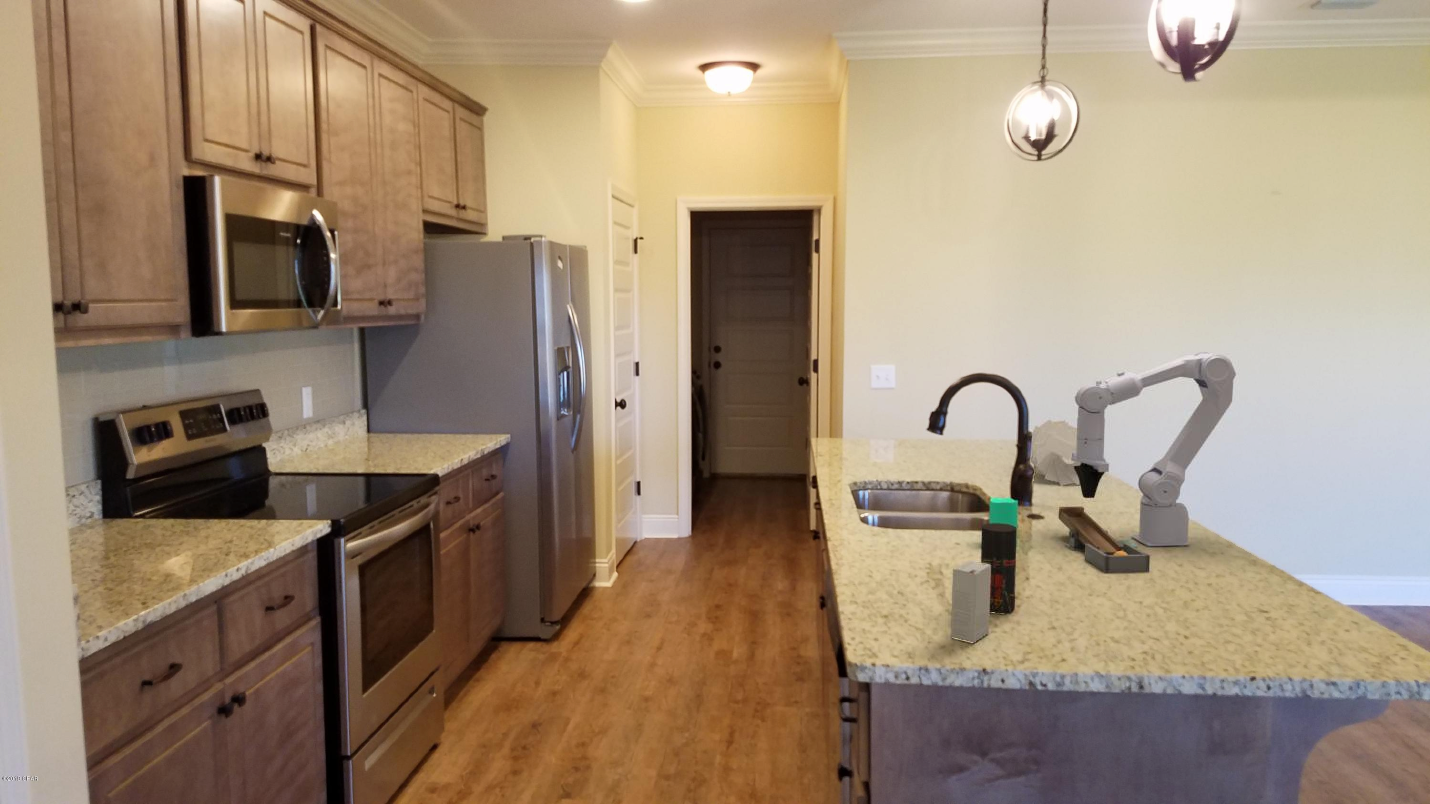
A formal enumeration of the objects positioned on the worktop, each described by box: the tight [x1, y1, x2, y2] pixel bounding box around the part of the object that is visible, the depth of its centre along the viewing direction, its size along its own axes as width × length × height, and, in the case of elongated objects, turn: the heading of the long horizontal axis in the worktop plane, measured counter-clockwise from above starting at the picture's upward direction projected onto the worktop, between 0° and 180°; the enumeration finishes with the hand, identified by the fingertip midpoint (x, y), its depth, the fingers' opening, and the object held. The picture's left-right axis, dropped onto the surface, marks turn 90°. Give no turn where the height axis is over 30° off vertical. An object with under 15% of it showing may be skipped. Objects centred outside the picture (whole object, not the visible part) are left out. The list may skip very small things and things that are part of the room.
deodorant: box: [980, 522, 1018, 614], centre depth 161 cm, size 6×6×15 cm
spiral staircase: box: [1030, 419, 1081, 487], centre depth 271 cm, size 18×18×25 cm
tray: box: [1084, 543, 1151, 573], centre depth 186 cm, size 9×10×3 cm
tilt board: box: [1057, 506, 1138, 555], centre depth 199 cm, size 10×20×3 cm, turn 2°
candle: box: [988, 497, 1019, 548], centre depth 202 cm, size 6×6×12 cm
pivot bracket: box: [1064, 529, 1109, 552], centre depth 200 cm, size 9×4×4 cm, turn 92°
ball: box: [1114, 550, 1128, 555], centre depth 184 cm, size 3×3×3 cm
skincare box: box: [950, 560, 991, 644], centre depth 148 cm, size 6×4×12 cm
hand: (1088, 497), depth 205 cm, fingers closed
